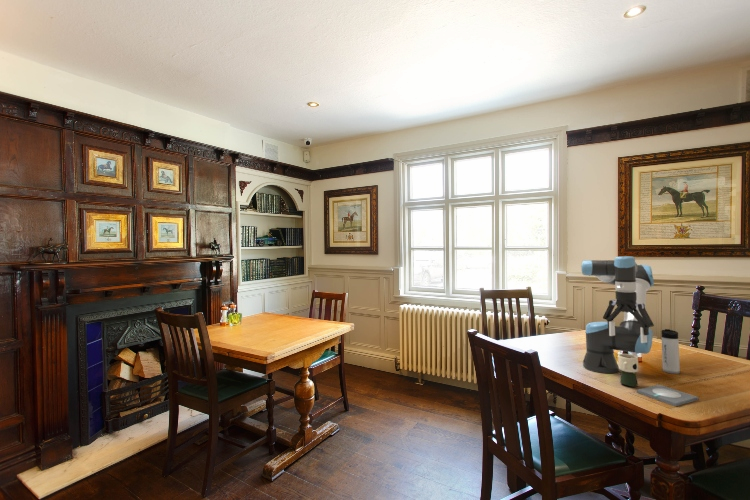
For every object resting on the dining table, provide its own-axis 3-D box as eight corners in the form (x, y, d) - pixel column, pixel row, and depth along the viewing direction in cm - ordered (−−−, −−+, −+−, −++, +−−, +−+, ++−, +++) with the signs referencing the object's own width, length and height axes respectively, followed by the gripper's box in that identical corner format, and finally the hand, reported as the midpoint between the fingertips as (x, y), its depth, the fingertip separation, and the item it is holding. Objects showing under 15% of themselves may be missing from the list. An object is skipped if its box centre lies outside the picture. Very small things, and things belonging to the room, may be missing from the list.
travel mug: (676, 370, 167) (675, 329, 167) (682, 374, 161) (680, 332, 161) (660, 368, 169) (659, 328, 169) (665, 373, 163) (663, 331, 163)
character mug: (635, 391, 145) (634, 360, 145) (615, 386, 150) (614, 356, 150) (642, 384, 152) (641, 354, 152) (623, 379, 157) (622, 351, 157)
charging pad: (636, 392, 143) (636, 389, 143) (658, 387, 148) (658, 383, 148) (675, 406, 130) (675, 402, 130) (698, 400, 135) (698, 396, 135)
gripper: (593, 289, 162) (594, 333, 161) (650, 294, 138) (652, 346, 138) (604, 288, 164) (606, 331, 164) (663, 293, 141) (665, 344, 141)
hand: (627, 338), depth 151 cm, fingers open, 13 cm apart
